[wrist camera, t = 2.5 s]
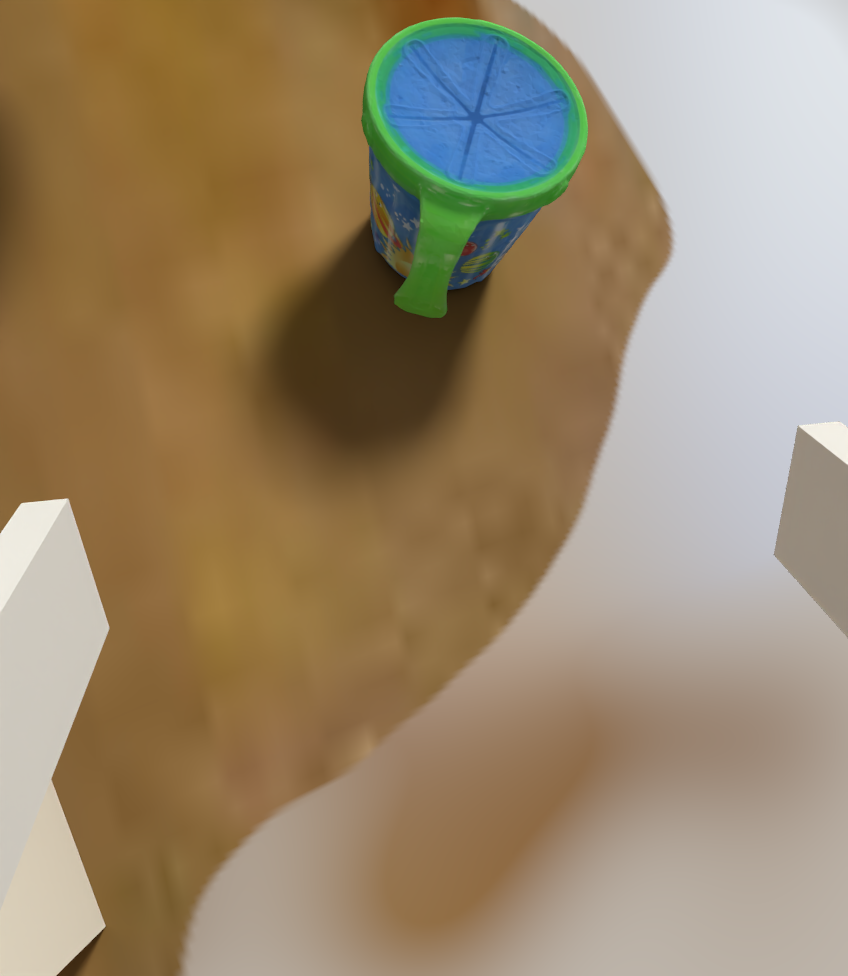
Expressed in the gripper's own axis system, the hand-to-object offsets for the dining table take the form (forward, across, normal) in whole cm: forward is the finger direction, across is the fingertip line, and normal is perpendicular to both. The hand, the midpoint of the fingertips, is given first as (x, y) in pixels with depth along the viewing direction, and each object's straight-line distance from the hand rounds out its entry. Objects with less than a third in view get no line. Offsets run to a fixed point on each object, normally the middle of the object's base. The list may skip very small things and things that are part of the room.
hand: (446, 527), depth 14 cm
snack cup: (+35, +4, -2) cm, 35 cm away
